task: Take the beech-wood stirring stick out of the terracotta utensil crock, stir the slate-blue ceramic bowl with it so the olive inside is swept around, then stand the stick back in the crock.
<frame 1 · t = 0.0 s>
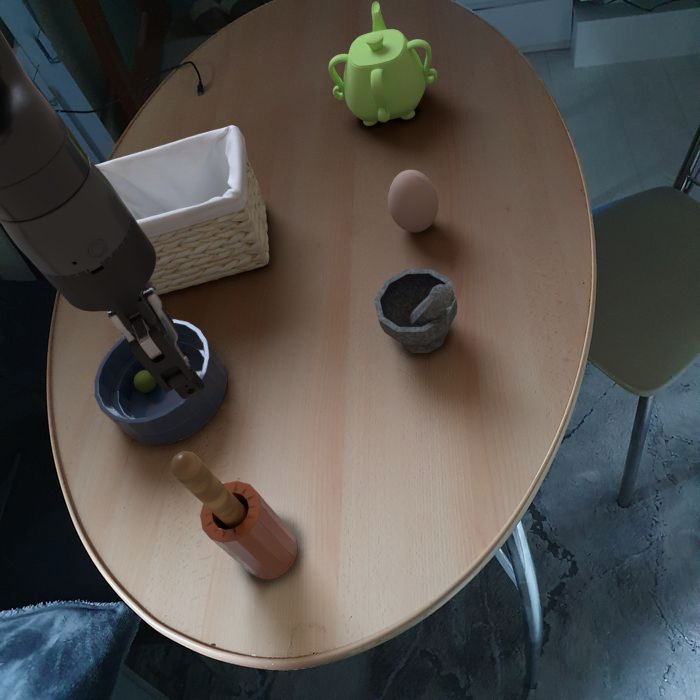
hand: (178, 358, 60), 24 cm above the table, tool pointing down, fingers open, 8 cm apart
teapot: (389, 102, 114), on the table
crock: (271, 551, 73), on the table
bowl: (174, 394, 89), on the table
stick: (268, 549, 73), point 1 cm above the table, touching crock
basket: (201, 252, 104), on the table
olive: (145, 381, 89), point 2 cm above the table, touching bowl
mortar and pestle: (427, 336, 85), on the table
egg: (418, 227, 96), on the table
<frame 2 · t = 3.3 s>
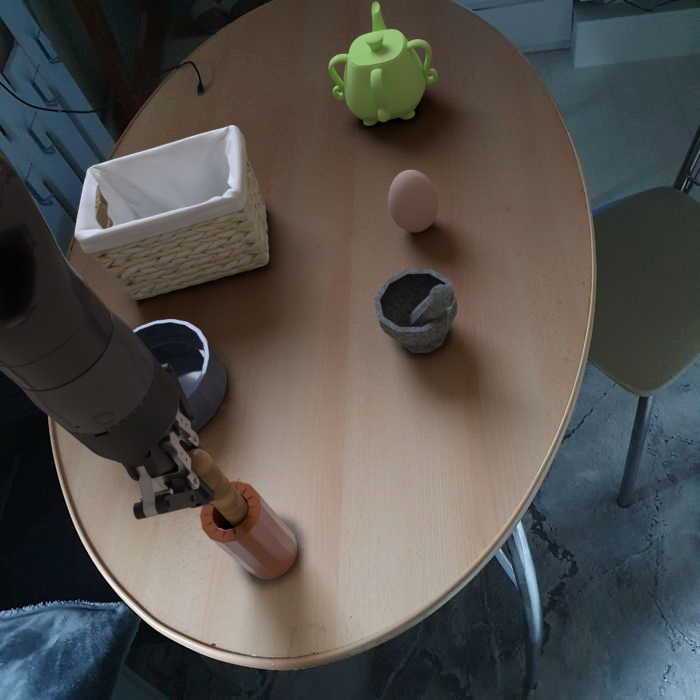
hand: (203, 484, 59), 18 cm above the table, tool pointing down, fingers closed on stick, 2 cm apart
stick: (268, 549, 73), point 1 cm above the table, touching crock, gripper
everything else where it was.
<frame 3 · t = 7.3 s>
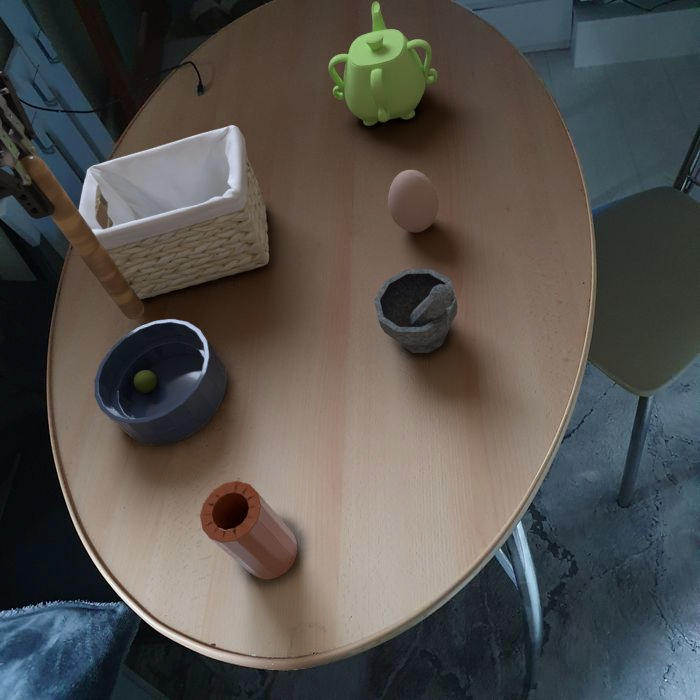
hand: (46, 203, 63), 33 cm above the table, tool pointing down, fingers closed on stick, 2 cm apart
stick: (137, 315, 77), point 15 cm above the table, touching gripper
everything else where it was.
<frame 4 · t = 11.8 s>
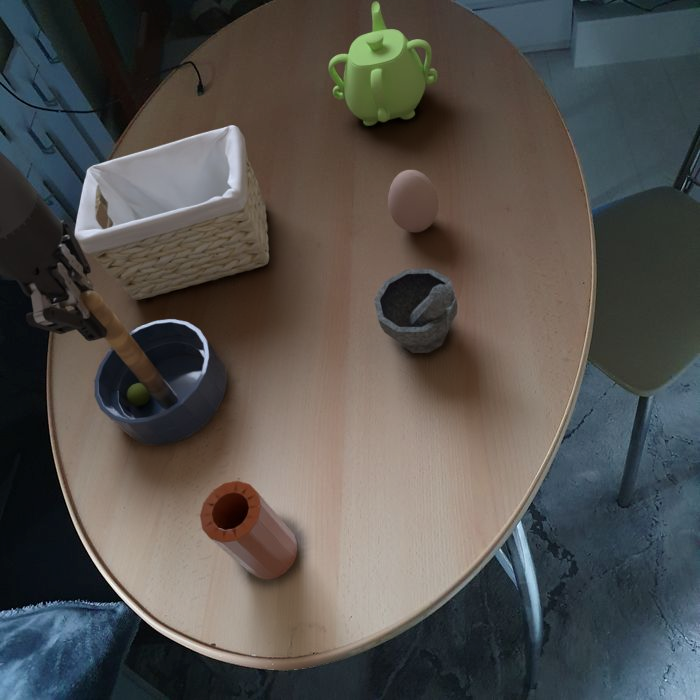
hand: (99, 325, 73), 19 cm above the table, tool pointing down, fingers closed on stick, 2 cm apart
stick: (172, 405, 87), point 1 cm above the table, touching gripper
olive: (139, 394, 88), point 2 cm above the table, tilted 40°, touching bowl
everything else where it was.
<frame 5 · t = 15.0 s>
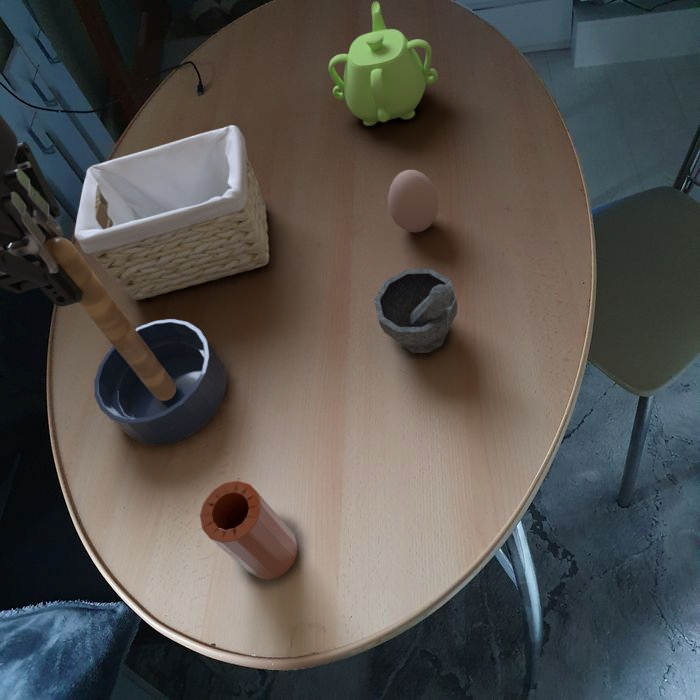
hand: (73, 287, 55), 33 cm above the table, tool pointing down, fingers closed on stick, 2 cm apart
stick: (168, 394, 69), point 15 cm above the table, touching gripper
olive: (163, 385, 87), point 2 cm above the table, tilted 115°, touching bowl
everything else where it was.
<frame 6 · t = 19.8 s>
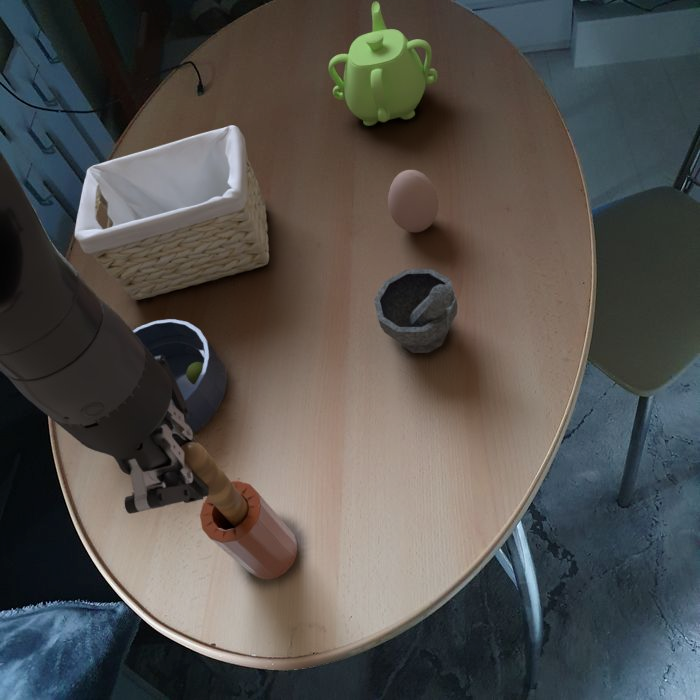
hand: (197, 478, 58), 19 cm above the table, tool pointing down, fingers closed on stick, 2 cm apart
stick: (266, 544, 72), point 2 cm above the table, touching gripper
olive: (198, 373, 87), point 2 cm above the table, tilted 61°, touching bowl
everything else where it was.
when the fingers open (18 cm above the table, at t = 20.3 s): stick stays where it is, resting on crock.
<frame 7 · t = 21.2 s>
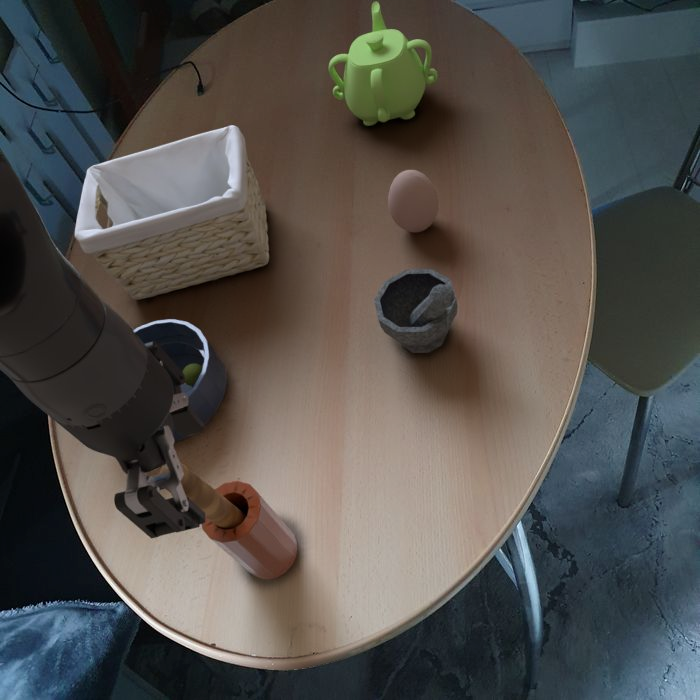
hand: (194, 474, 57), 20 cm above the table, tool pointing down, fingers open, 8 cm apart
stick: (269, 548, 73), point 1 cm above the table, touching crock
olive: (194, 375, 87), point 2 cm above the table, tilted 78°, touching bowl
everything else where it was.
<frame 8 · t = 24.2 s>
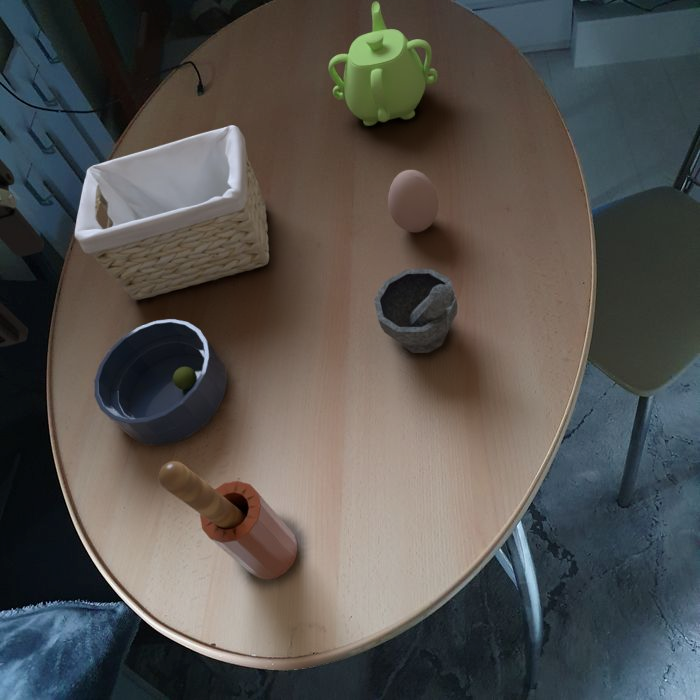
hand: (24, 293, 48), 38 cm above the table, tool pointing down, fingers open, 8 cm apart
olive: (184, 378, 87), point 2 cm above the table, tilted 115°, touching bowl
everything else where it was.
at the end: olive moved 5.6 cm from its start; olive inside the target area in the bowl (2.6 cm from its centre), point 2.1 cm above the bowl's base; stick 0.1 cm off-centre in the crock, point 0.8 cm above the crock's base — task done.
